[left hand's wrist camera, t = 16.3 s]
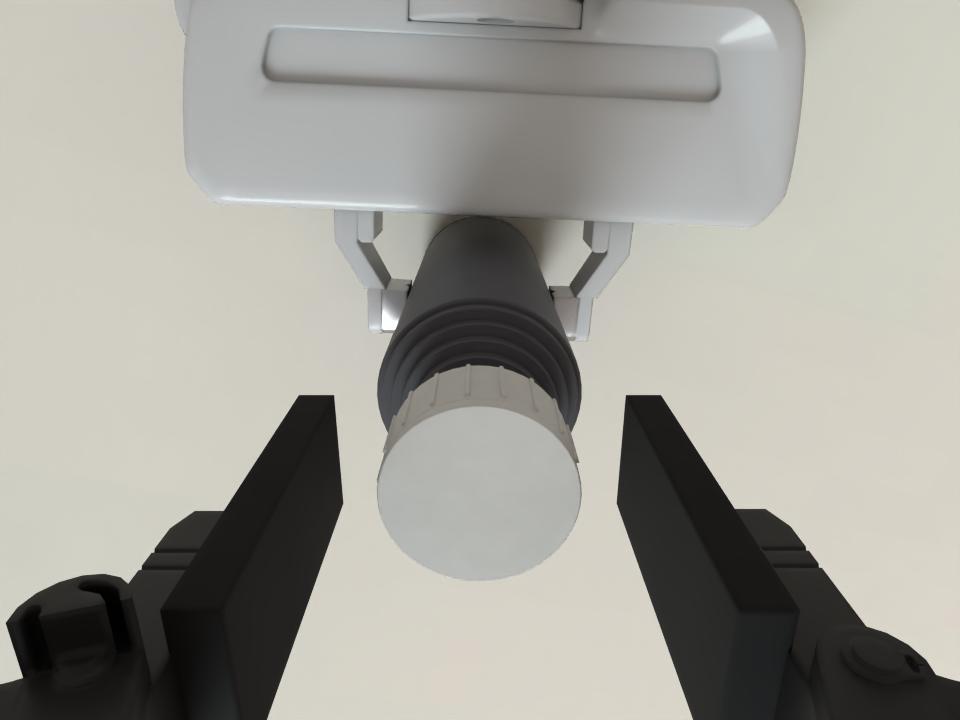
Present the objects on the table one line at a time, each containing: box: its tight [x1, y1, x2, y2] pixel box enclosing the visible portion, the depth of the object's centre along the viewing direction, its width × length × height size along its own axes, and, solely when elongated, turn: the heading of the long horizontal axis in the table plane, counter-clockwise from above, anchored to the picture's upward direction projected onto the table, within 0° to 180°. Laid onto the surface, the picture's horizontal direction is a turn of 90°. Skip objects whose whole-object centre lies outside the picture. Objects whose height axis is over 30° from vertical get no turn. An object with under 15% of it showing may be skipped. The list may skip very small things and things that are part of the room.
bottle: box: [377, 216, 581, 432], centre depth 22 cm, size 5×5×19 cm
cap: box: [377, 364, 581, 581], centre depth 14 cm, size 4×4×2 cm
